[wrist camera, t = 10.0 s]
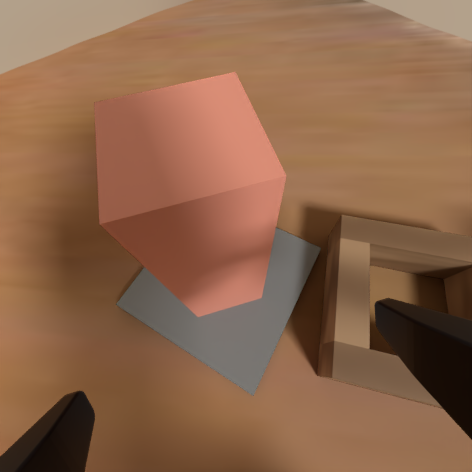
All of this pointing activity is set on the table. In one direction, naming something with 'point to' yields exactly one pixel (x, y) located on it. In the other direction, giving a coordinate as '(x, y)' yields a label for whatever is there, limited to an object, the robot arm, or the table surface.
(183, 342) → the rubber mat
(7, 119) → the table surface
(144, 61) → the table surface
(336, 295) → the frame
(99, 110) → the salmon pink rectangular block
